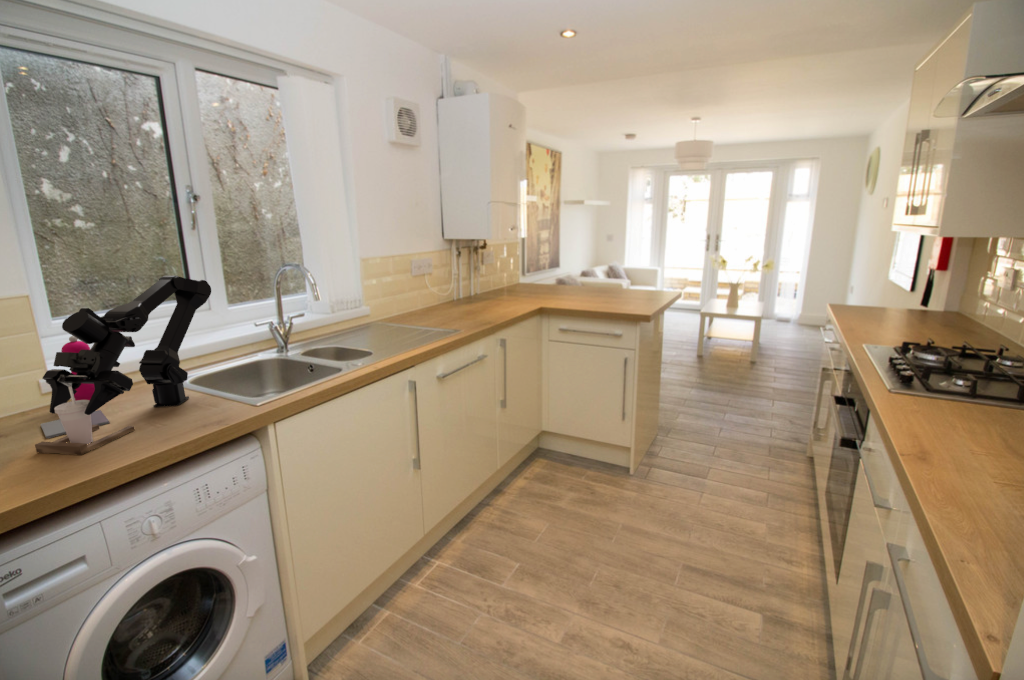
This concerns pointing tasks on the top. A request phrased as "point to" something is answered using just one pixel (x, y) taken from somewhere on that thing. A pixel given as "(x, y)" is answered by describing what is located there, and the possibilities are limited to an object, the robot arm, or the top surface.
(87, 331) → the robot arm
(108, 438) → the lane
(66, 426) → the smoothie
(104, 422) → the plate
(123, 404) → the top surface
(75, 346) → the pepper mill
